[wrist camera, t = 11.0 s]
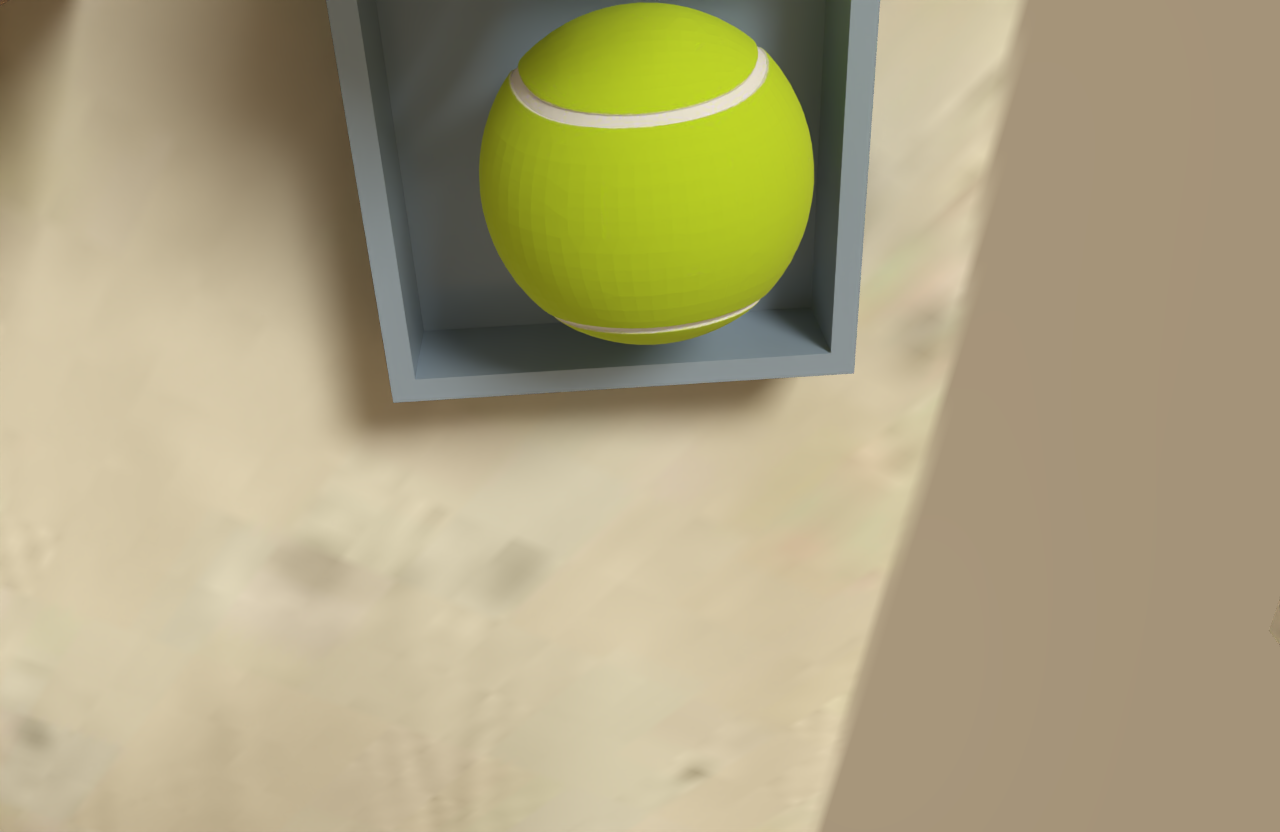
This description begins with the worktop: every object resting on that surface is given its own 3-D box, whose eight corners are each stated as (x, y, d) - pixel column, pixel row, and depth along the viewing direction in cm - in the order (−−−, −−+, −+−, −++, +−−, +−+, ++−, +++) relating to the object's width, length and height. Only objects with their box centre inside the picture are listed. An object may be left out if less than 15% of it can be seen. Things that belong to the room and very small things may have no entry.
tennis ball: (784, 247, 30) (844, 387, 24) (507, 274, 30) (498, 422, 24) (781, -45, 26) (850, 36, 20) (465, -15, 26) (441, 75, 20)
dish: (333, -121, 25) (309, -99, 23) (855, -145, 26) (889, -126, 23) (405, 343, 31) (393, 403, 29) (829, 317, 32) (853, 373, 29)
